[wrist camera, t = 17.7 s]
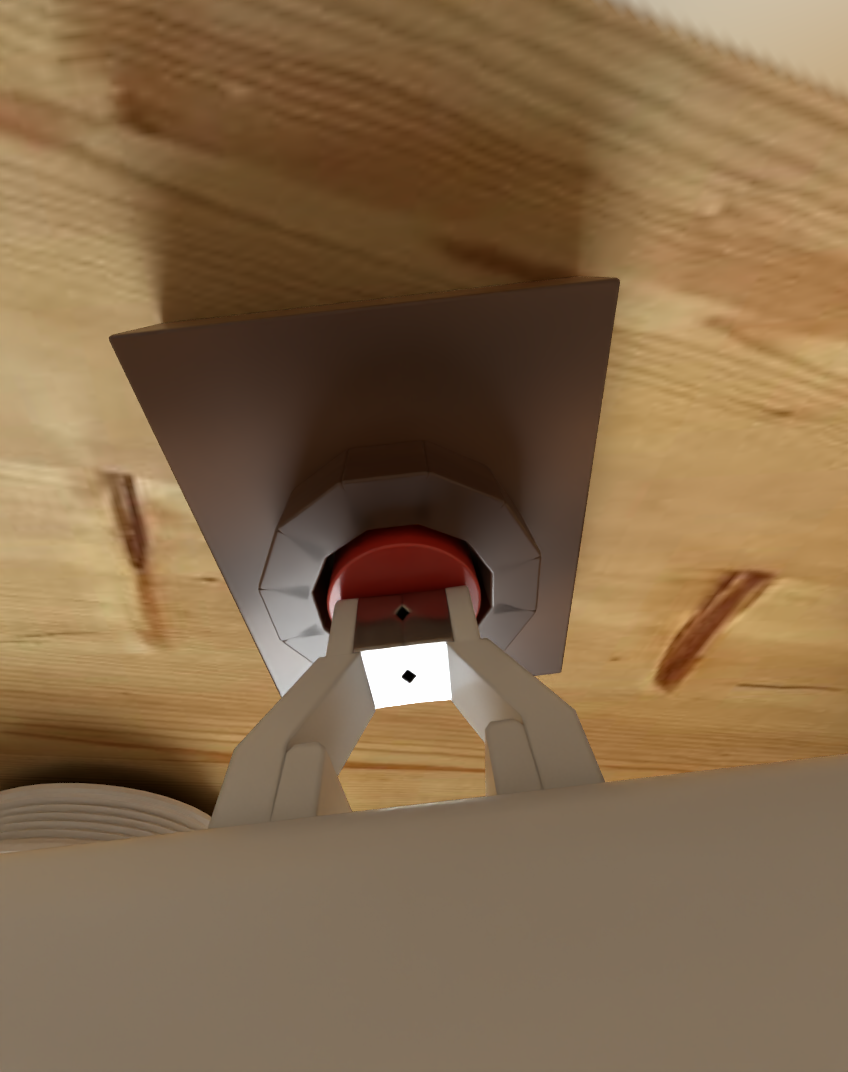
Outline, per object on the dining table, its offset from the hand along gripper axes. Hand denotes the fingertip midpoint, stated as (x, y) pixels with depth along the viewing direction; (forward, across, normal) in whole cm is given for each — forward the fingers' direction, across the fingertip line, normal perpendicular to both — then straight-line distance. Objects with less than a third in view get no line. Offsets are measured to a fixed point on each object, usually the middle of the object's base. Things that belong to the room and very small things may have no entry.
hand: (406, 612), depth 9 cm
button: (+2, 0, 0) cm, 2 cm away
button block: (+4, 0, 0) cm, 4 cm away
